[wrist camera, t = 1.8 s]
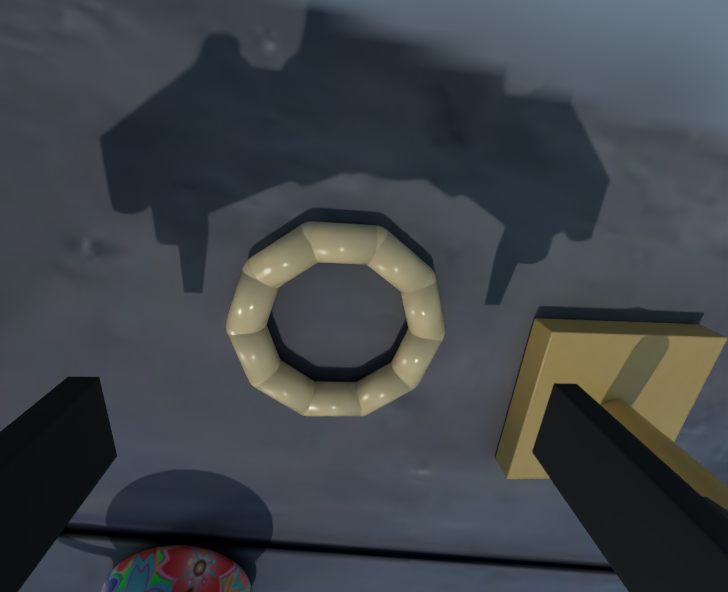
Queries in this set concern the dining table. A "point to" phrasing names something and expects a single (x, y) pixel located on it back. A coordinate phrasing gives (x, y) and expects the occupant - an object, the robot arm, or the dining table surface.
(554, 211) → the dining table surface
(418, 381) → the ring
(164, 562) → the mug
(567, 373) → the square plate with peg
